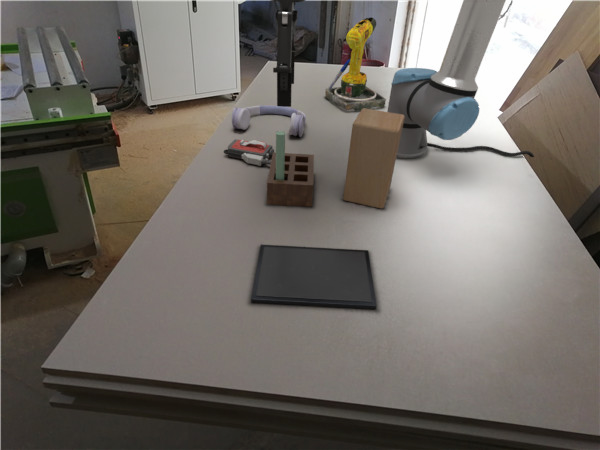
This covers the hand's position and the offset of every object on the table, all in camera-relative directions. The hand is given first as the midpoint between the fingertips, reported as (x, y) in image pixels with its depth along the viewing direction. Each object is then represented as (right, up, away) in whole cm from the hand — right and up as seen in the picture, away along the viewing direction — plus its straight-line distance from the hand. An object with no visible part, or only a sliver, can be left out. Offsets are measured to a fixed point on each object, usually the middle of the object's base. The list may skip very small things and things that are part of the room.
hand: (286, 94), depth 84 cm
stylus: (-2, -21, +14) cm, 25 cm away
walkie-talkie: (-9, -9, +30) cm, 32 cm away
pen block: (+1, -18, +18) cm, 25 cm away
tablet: (+5, -37, -7) cm, 38 cm away
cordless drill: (+24, +20, +70) cm, 76 cm away
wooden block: (+20, -20, +17) cm, 33 cm away
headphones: (-6, +6, +49) cm, 50 cm away
